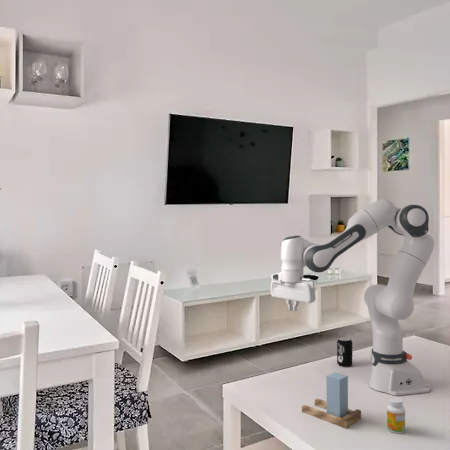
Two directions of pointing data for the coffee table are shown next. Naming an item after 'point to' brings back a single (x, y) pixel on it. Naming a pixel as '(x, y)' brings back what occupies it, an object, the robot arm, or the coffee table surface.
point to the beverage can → (344, 351)
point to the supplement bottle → (395, 415)
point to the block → (337, 394)
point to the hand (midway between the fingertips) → (292, 310)
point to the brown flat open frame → (343, 422)
